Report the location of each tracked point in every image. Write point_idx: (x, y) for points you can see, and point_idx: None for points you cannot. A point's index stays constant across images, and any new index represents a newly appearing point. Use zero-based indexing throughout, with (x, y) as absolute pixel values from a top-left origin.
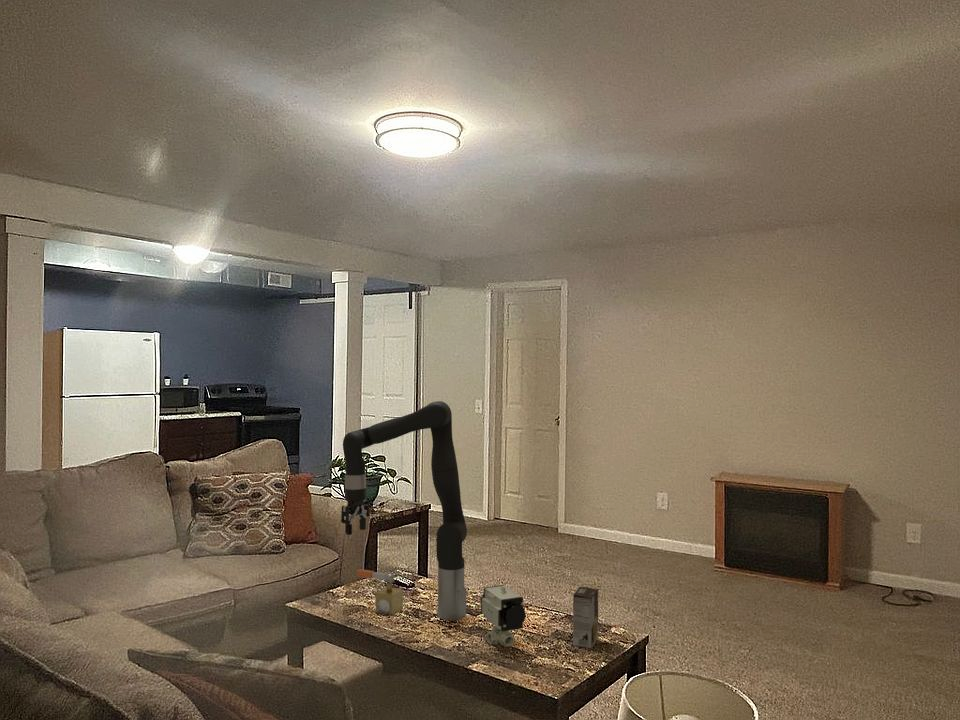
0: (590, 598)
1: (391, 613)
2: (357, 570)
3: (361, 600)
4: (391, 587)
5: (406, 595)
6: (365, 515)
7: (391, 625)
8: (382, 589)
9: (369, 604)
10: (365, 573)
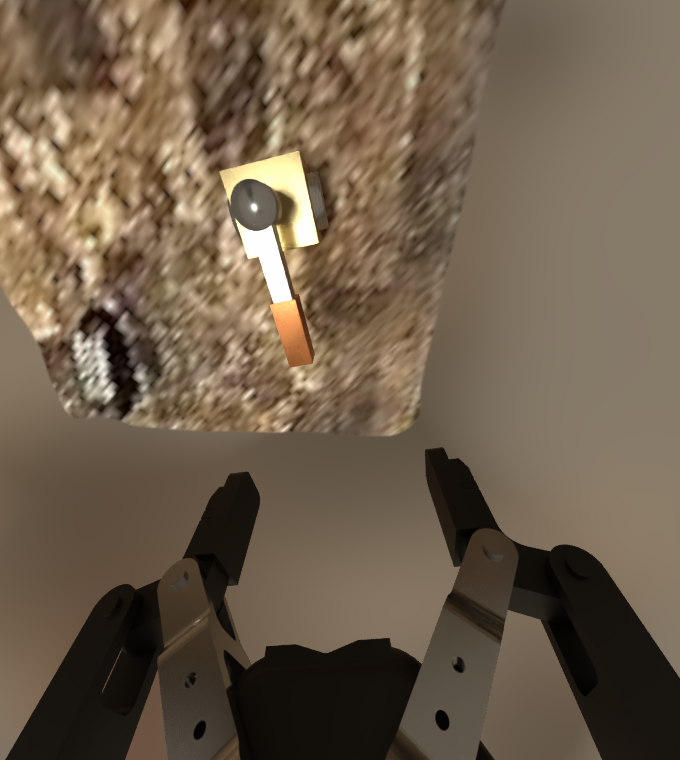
0: None
1: (308, 169)
2: (309, 363)
3: None
4: None
5: (157, 268)
6: (178, 608)
7: (381, 84)
8: None
9: None
10: (303, 325)
